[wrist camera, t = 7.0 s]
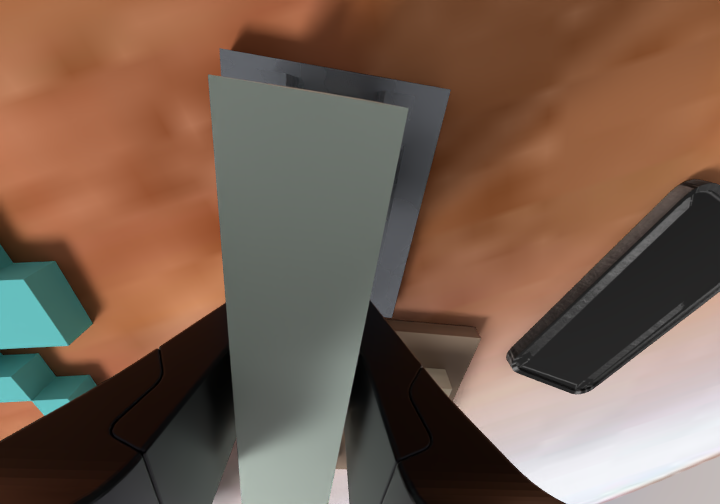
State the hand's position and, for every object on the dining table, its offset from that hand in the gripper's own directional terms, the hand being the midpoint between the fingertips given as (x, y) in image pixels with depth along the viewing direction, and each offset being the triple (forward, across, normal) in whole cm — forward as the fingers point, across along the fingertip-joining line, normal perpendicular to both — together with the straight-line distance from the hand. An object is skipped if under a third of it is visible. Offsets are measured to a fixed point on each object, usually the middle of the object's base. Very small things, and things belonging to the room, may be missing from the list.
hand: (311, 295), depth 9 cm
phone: (+8, -20, +4) cm, 21 cm away
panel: (+5, 0, 0) cm, 5 cm away
